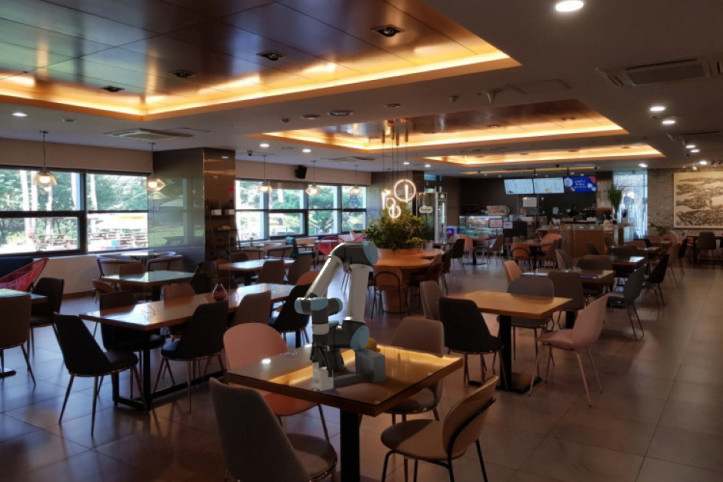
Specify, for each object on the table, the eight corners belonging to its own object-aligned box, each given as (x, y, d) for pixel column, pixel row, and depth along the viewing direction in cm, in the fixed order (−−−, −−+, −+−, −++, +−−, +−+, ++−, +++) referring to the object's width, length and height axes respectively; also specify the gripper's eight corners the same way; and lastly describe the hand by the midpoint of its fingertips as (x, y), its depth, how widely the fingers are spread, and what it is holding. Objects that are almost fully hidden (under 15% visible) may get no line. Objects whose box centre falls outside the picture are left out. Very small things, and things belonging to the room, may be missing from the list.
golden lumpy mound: (377, 350, 311) (377, 336, 312) (377, 353, 295) (377, 338, 296) (352, 350, 311) (351, 336, 312) (351, 353, 296) (351, 338, 296)
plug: (310, 387, 239) (310, 369, 239) (357, 377, 251) (356, 360, 251) (317, 391, 233) (317, 373, 233) (364, 381, 245) (364, 363, 245)
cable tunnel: (355, 374, 257) (354, 350, 256) (366, 371, 260) (365, 348, 259) (374, 382, 242) (373, 357, 242) (385, 380, 245) (384, 355, 245)
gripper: (301, 329, 246) (303, 375, 247) (325, 338, 225) (328, 389, 226) (315, 327, 250) (318, 372, 251) (341, 336, 229) (343, 385, 230)
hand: (322, 380), depth 238 cm, fingers open, 13 cm apart
